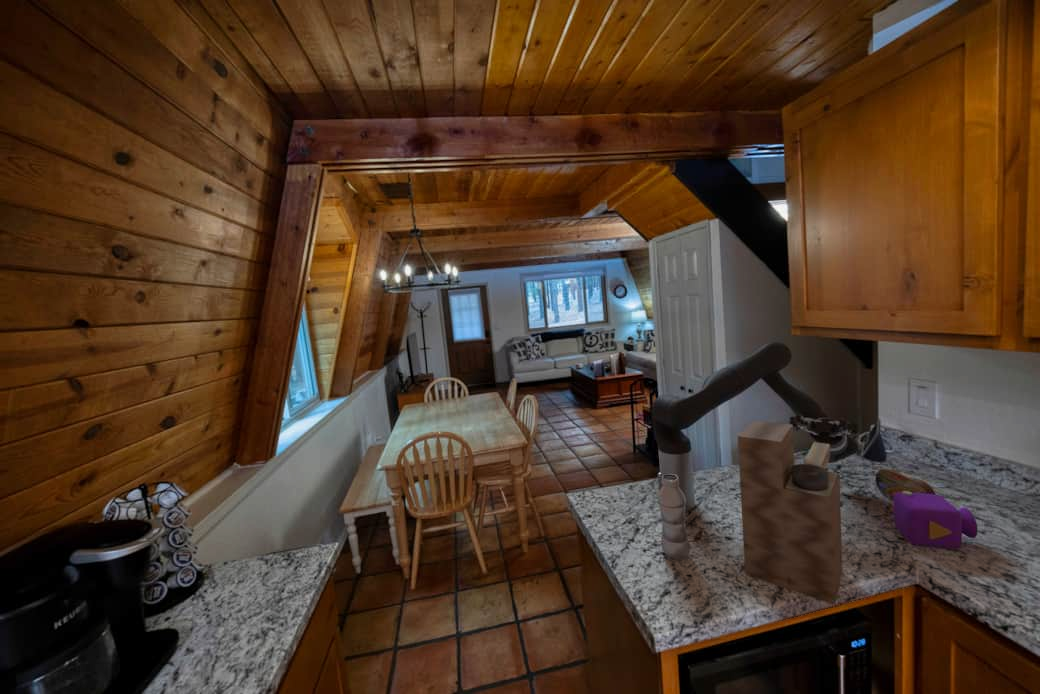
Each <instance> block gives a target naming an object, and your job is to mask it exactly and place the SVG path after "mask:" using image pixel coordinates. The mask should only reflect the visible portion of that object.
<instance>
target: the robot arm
mask: <svg viewBox="0 0 1040 694" xmlns="http://www.w3.org/2000/svg"><path fill="white" fill-rule="evenodd" d="M792 354H793V353H792V351H791V349H790V347H788V345H786V344H784V343H782V342H779V341H772V342H768V343H766V344H765V343H764V345H762V346H761V347H759V348H758V349H756V350H755V351H754V352H752V353H751V354H750V355H748V356H747V357H745V358H743V359H740V360H738V361H735V362H733V363H731V364H728V365H726V366H724V367H722V368H720V369H718V370H716V371H715V372H713V373H711V374H710V375H708V376H707V377H706V378H705V380H704V382H703V383H702V384H703V385H702V386H701V388H700V390H698V391H696V392H694V393H693V394H692V395H689V396H686V397H680V396H679V397H678V396H674V395H669V394H662V395H659V396H657V397H656V398H655V400H654V401H653V403H652V408H651V419H652V420H651V421H652V427H653V435H654V440H655V441H656V443H657V447H658V459H659V472H658V473H657V484H658V492H659V491H660V490H661V488H662V487H663V484H662V481H663V480H662V476H663V475H665V474H673V475H676V476H678V480H679V486H678V487H679V488H680V489H681V491H682V492H683V493H684V495H685V498H686V507H685V511H689V510H692V509H693V508H695V506H696V503H695V502H696V501H695V500H696V499H695V488H694V487H695V485H694V472H693V471H694V470H693V457H692V453H693V452H692V442H691V440H690V438H689V437H688V436H687V435H686V434H684V432H683V431H682V430H686V429H688V428H690V427H691V426H692V425H695V424H696V422H698V421H699V420H701V419H702V418H703V417H704V416H706V415H707V414H708V413H710V412H711V411H713V410H715V409H716V408H718V407H719V406H721V405H723V404H724V403H726V402H728V401H730V400H733V398H735V397H737V396H739V395H740V394H742V393H743V392H745V391H747V390H748V389H749V388H750V387H752V386H753V385H754V384H756V383H757V382H758V381H760V380H762V381H763V383H765V384H766V385H767V386H768V387H769V388H770V389H771V390H772V391H773V392H774V393H775V394H776V395H777V396H778V397H779V398H780V399H781V400H782V401H783V402H784V403H785V404H786V405H787V406H788V408H790V410H791V411H792V412H793V414H794V415H795V416H790V417H789V424H792V425H793V431H795V432H800V431H801V430H803V431H805V432H808V433H809V435H810V437H811V439H812V440H813V441H814V442H817V443H825V444H830V458H829V461H828V464H834V463H837V462H839V461H841V460H844V459H846V458H849V457H851V456H853V455H856V454H858V452H859V448H860V447H859V443H858V441H856V439H860V438H859V437H860V432H859V431H860V429H859V428H860V427H859V426H860V424H859V423H856V422H853V423H852V424H851V423H850V422H848V420H845V419H844V418H841V417H839V420H835V419H833V418H830V417H829V416H828V415H827V413H826V412H825V411H824V409H823V408H822V406H820V404H819V403H818V402H817V401H816V400H815V399H814V397H812V396H811V395H808V394H807V393H806V392H804V391H802V390H800V389H798V388H796V387H795V386H793V385H792V384H791V383H789V381H787V380H786V379H785V378H784V377H783V376H782V374H781V372H780V371H781V370H784V369H785V368H787V367H788V366H789V365H790V363H791V361H792V357H793V355H792Z"/></svg>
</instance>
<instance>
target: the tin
mask: <svg viewBox="0 0 1040 694" xmlns="http://www.w3.org/2000/svg"><path fill="white" fill-rule="evenodd" d="M875 485H876V487H877V489H878V490H879V493H880V494H882V496H884V498H886V499H887V500H889V501H891V502H894V494H895V493H898V492H903V491H909V492H912V493H922V494H935V495H937V494H936V492H935V490H934V489H933V487H932V486H931V485H930V484H928V482H926V481H925V480H922V479H919V478H917V477H915V476H912V475H910V474H907V473H905V472H902V471H900V470H898V469H895V468H882V469H879V470H878V471H877V473H876V475H875Z"/></svg>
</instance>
